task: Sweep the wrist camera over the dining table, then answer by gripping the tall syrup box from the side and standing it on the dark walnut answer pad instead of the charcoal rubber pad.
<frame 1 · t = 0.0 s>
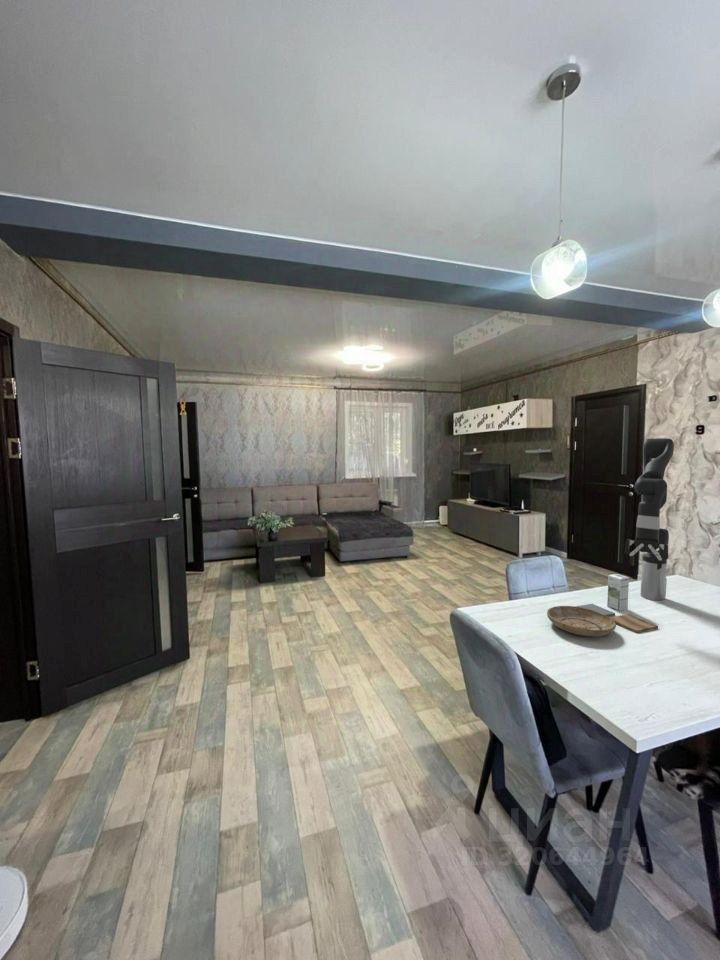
hand: (644, 567, 158), 22 cm above the table, fingers open, 8 cm apart
walnut answer pad: (632, 624, 157), on the table
ceramic bowl: (579, 629, 153), on the table
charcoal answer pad: (593, 612, 168), on the table
syrup box: (617, 608, 173), on the table
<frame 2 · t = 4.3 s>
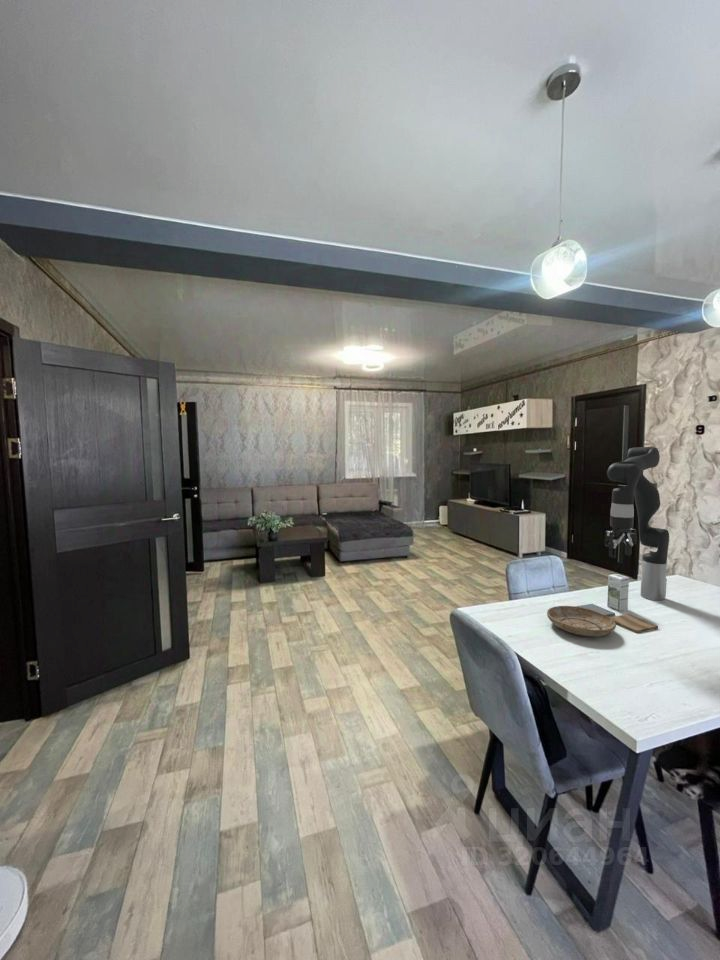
hand: (620, 556, 153), 28 cm above the table, fingers open, 8 cm apart
nothing on the table moved.
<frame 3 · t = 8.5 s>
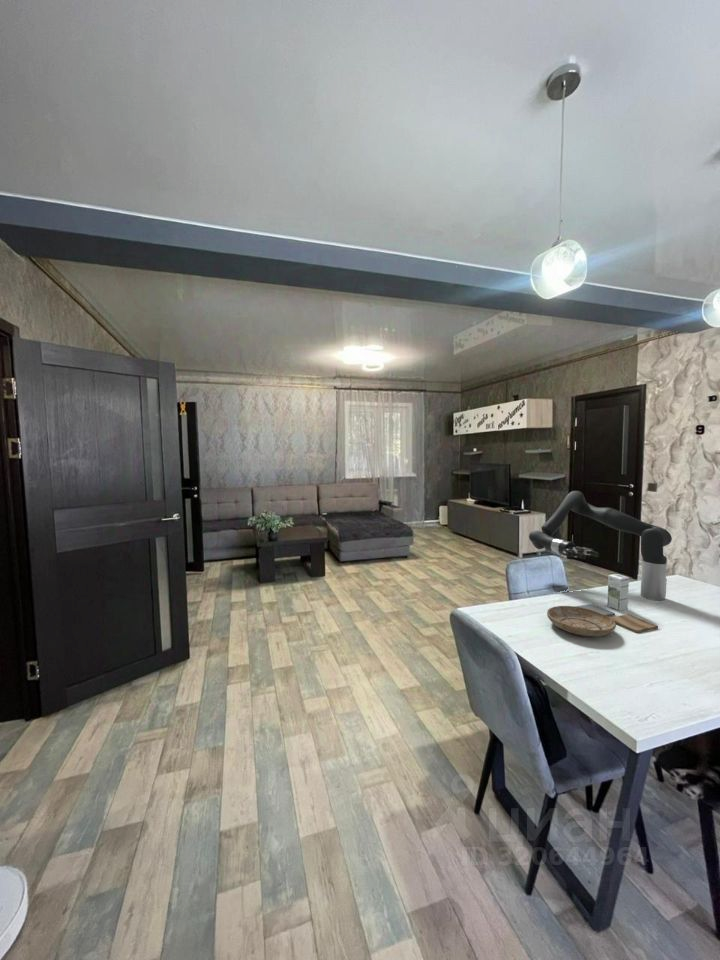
hand: (591, 556, 184), 20 cm above the table, fingers open, 8 cm apart
nothing on the table moved.
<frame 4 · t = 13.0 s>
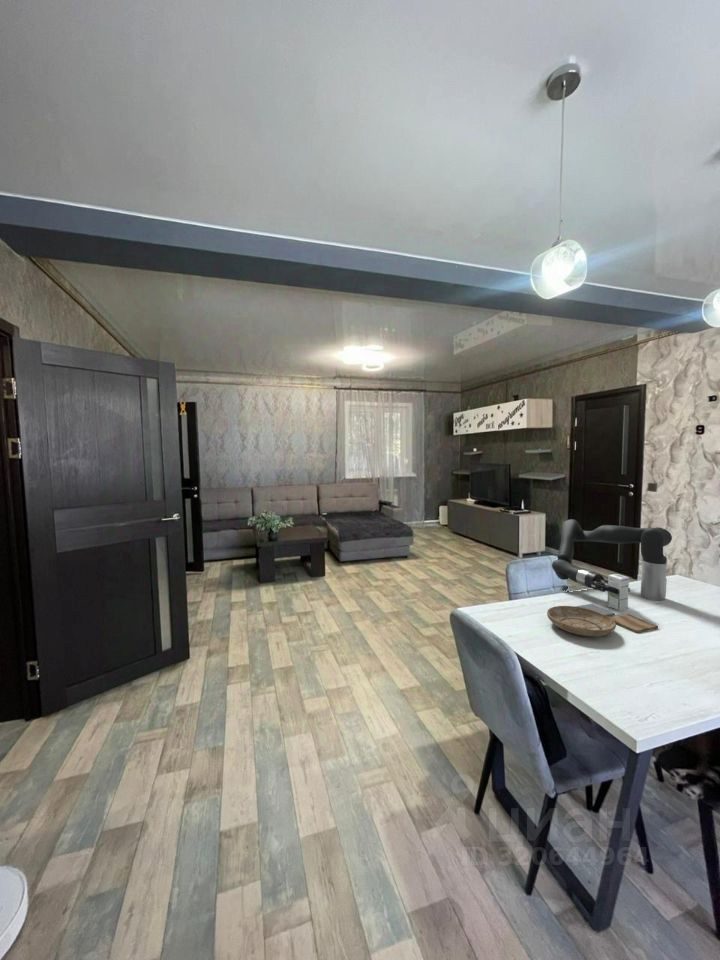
hand: (623, 591, 170), 9 cm above the table, fingers closed on syrup box, 6 cm apart
syrup box: (617, 608, 173), on the table, touching gripper
everything else where it was.
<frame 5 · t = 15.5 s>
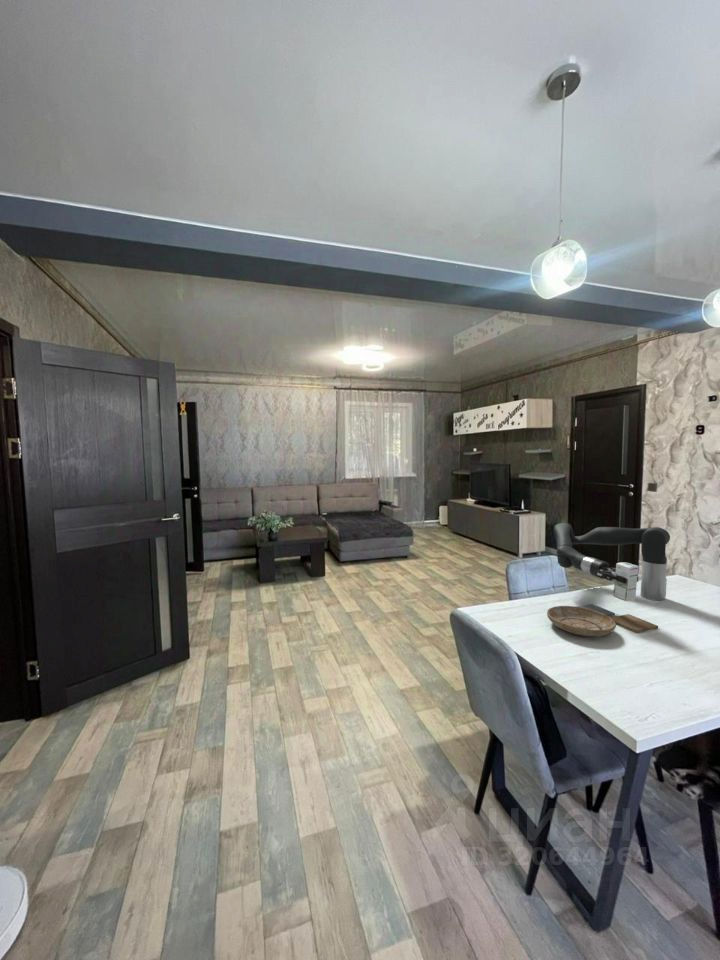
hand: (631, 580, 158), 17 cm above the table, fingers closed on syrup box, 6 cm apart
syrup box: (624, 598, 162), point 8 cm above the table, touching gripper
everything else where it was.
when the fingers open (11 cm above the table, at t = 18.1 s): syrup box drops 1 cm, resting on walnut answer pad.
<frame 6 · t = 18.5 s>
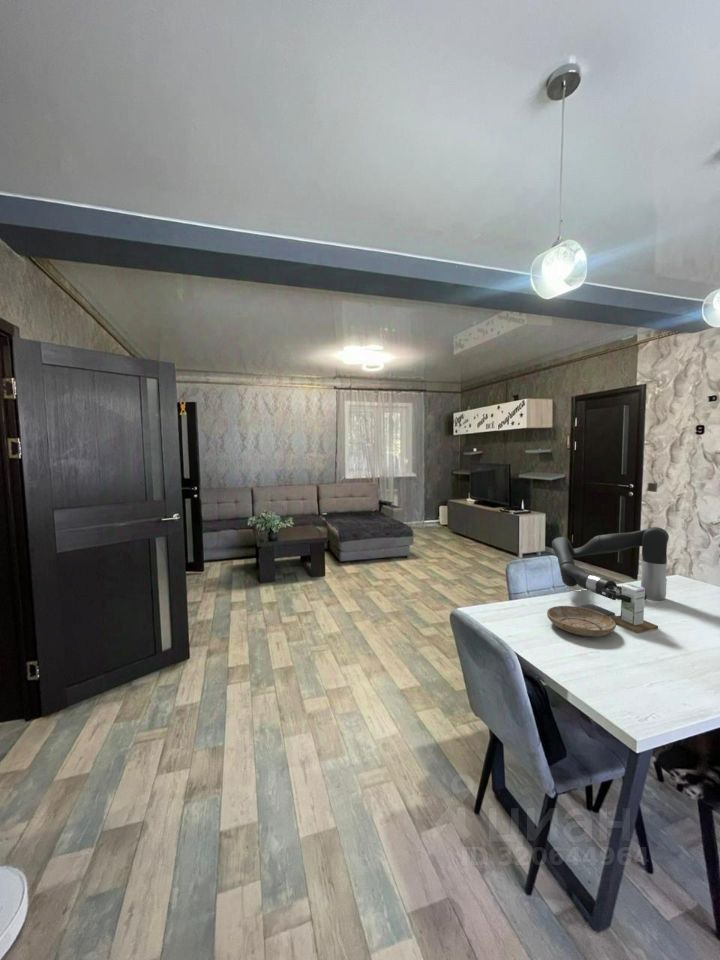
hand: (638, 599, 154), 11 cm above the table, fingers open, 8 cm apart
syrup box: (631, 622, 157), point 1 cm above the table, touching walnut answer pad
everything else where it was.
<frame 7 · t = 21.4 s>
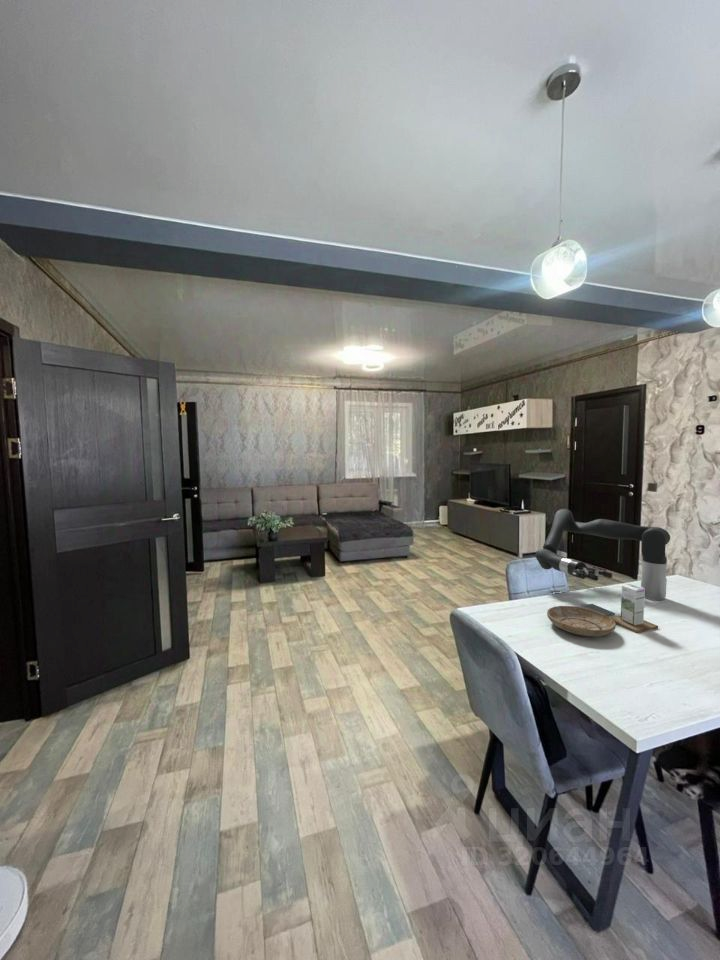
hand: (604, 577, 169), 15 cm above the table, fingers open, 8 cm apart
nothing on the table moved.
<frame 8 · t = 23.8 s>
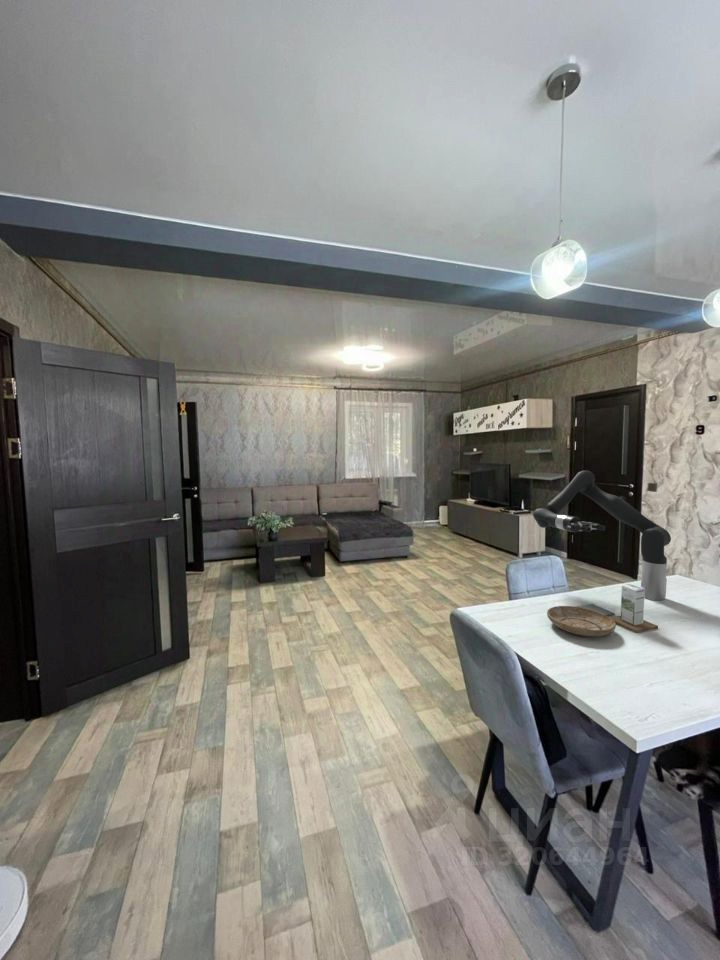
hand: (597, 529, 177), 34 cm above the table, fingers open, 8 cm apart
nothing on the table moved.
at the end: syrup box inside the target area on the walnut answer pad (0.1 cm from its centre), point 0.8 cm above the walnut answer pad's base; syrup box tilted 0°; the gripper is holding nothing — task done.
